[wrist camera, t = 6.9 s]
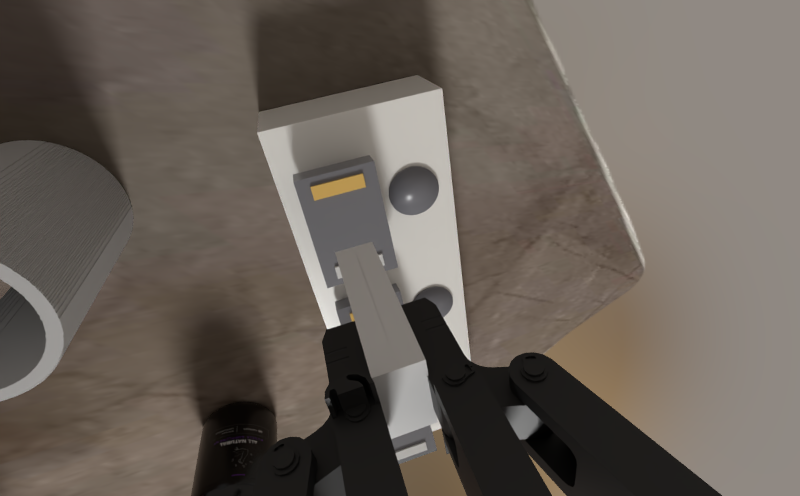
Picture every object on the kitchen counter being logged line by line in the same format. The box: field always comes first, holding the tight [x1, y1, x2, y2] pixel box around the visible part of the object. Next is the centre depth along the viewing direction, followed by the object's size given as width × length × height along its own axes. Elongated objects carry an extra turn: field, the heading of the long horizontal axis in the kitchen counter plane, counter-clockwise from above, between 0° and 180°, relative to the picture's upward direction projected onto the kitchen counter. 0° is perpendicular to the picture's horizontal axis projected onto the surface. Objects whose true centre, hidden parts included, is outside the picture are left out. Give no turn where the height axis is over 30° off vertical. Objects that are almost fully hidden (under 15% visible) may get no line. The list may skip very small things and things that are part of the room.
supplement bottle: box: [191, 402, 277, 496], centre depth 37 cm, size 7×7×12 cm
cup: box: [0, 140, 134, 401], centre depth 23 cm, size 9×9×12 cm
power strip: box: [257, 75, 471, 431], centre depth 35 cm, size 11×32×6 cm, turn 10°
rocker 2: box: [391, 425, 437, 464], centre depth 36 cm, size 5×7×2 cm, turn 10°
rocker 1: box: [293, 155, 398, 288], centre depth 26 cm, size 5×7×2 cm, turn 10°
